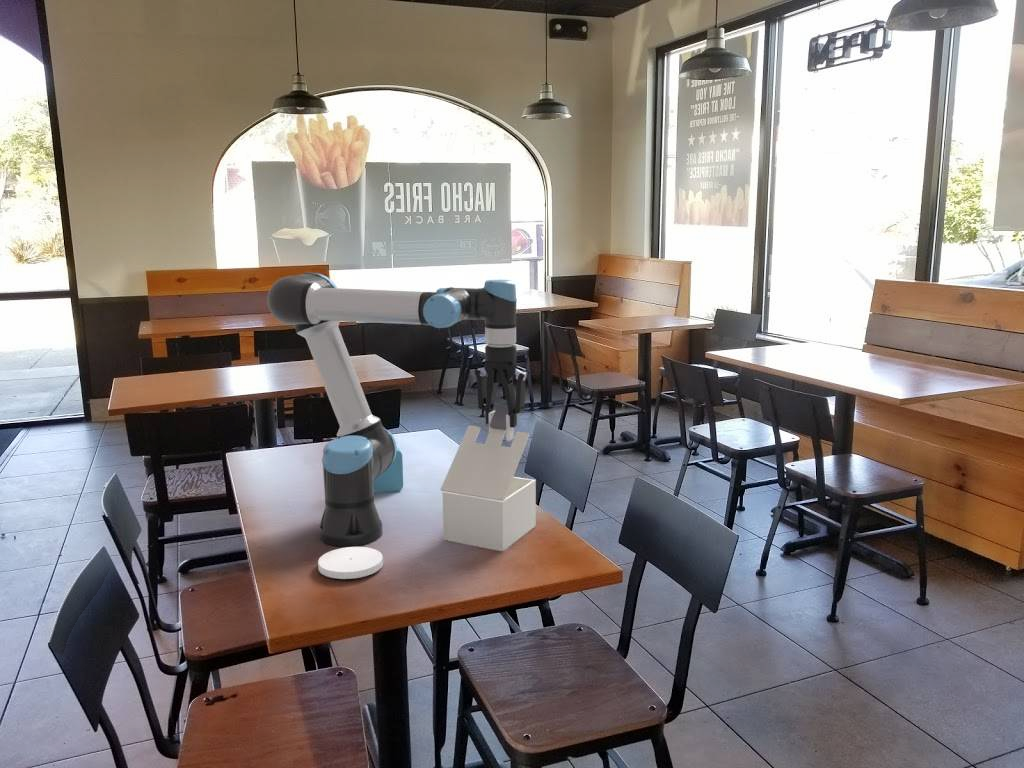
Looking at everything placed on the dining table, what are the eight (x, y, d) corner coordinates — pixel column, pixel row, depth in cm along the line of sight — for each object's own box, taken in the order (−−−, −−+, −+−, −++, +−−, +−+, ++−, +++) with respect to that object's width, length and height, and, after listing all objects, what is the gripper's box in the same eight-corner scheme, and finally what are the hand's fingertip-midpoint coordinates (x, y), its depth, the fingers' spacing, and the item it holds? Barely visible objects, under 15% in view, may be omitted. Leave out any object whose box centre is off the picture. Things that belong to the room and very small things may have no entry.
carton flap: (505, 503, 190) (501, 497, 187) (443, 493, 197) (438, 486, 195) (538, 417, 202) (535, 409, 200) (479, 410, 210) (475, 403, 208)
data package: (401, 486, 238) (399, 445, 236) (403, 490, 234) (402, 450, 232) (359, 490, 235) (357, 449, 233) (360, 495, 231) (359, 453, 229)
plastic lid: (393, 573, 180) (393, 563, 180) (331, 588, 173) (331, 577, 173) (368, 552, 192) (368, 542, 192) (309, 565, 185) (309, 555, 184)
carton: (502, 551, 191) (502, 502, 189) (443, 539, 198) (442, 492, 196) (535, 525, 207) (535, 480, 205) (479, 516, 214) (478, 471, 212)
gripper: (539, 344, 199) (539, 438, 203) (476, 340, 206) (478, 431, 211) (526, 349, 192) (526, 446, 197) (462, 344, 199) (463, 438, 204)
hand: (501, 438), depth 204 cm, fingers closed on carton flap, 4 cm apart
